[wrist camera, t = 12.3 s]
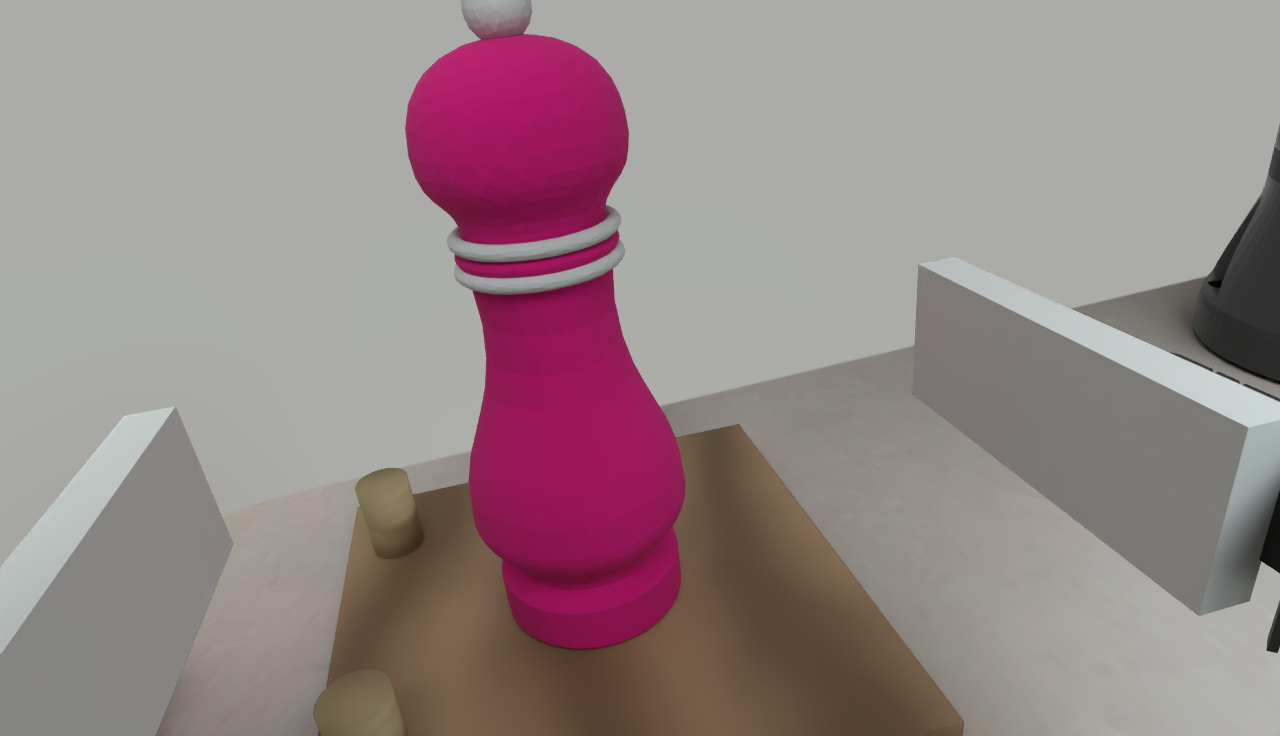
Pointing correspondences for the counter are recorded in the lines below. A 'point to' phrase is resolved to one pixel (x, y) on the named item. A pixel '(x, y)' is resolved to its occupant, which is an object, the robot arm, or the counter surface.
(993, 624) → the counter surface
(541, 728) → the seat board
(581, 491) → the pepper mill
